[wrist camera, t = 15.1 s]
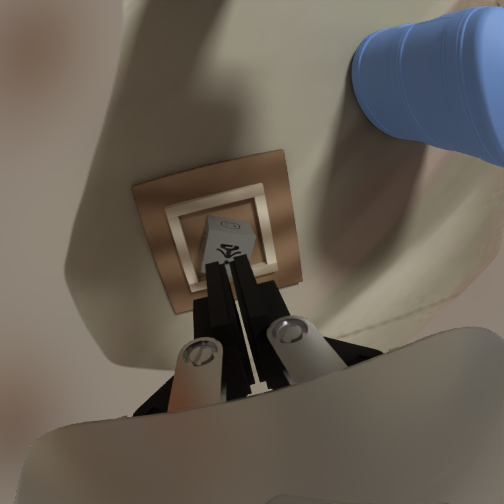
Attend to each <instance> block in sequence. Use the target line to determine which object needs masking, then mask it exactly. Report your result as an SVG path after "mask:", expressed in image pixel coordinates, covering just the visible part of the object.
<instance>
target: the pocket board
mask: <svg viewBox="0 0 504 504" xmlns="http://www.w3.org/2000/svg"><path fill="white" fill-rule="evenodd" d="M131 189H132V192H133V196H134V199H135V202H136V205H137V208H138V212H139V215H140V218H141V221H142V224H143V227H144V230H145V233H146V236H147V239H148V241H149V244H150V247H151V250H152V253H153V256H154V258H155V261H156V264H157V267H158V269H159V272H160V275H161V277H162V280H163V283H164V285H165V288H166V290H167V293H168V295H169V298H170V300H171V303H172V305H173V308H174V310H175V313H180V312H184V311H188V310H193V300H195V299H199V298H203V297H207V296H208V293H207V282H206V273H202V272H201V261H200V250H201V245H202V239H203V234H204V229H205V223H206V218H207V214H208V215H214V216H220V217H226V218H233V219H239V220H245V221H249V223H250V225H251V228H252V230H253V232H254V234H255V236H256V239H255V243H254V247H253V251H252V255H251V259H250V265H251V268H252V271H253V273H254V276H255V279H256V282H257V284H259V283H263V282H267V281H271V280H274V281H275V283H276V285H277V287H278V288H280V287H284V286H287V285H291V284H295V283H298V282H302V281H303V279H302V271H301V263H300V255H299V247H298V240H297V233H296V225H295V218H294V211H293V205H292V198H291V191H290V185H289V179H288V172H287V166H286V160H285V154H284V150H282V149H280V150H274V151H269V152H264V153H259V154H254V155H250V156H245V157H240V158H236V159H231V160H227V161H223V162H218V163H214V164H210V165H206V166H202V167H198V168H194V169H190V170H186V171H183V172H179V173H175V174H171V175H168V176H164V177H161V178H157V179H154V180H150V181H147V182H144V183H140V184H137V185H134V186H132V187H131ZM228 278H229V282H230V286H231V289H232V293H233V297H234V299H237V295H236V291H235V287H234V282H233V278H232V276H228Z"/></svg>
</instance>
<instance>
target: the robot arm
mask: <svg viewBox="0 0 504 504" xmlns="http://www.w3.org/2000/svg"><path fill="white" fill-rule="evenodd" d="M233 259H234V261H231V262H229V266H230V270H231V274H232V278H233V282H234V287H235V291H236V295H237V299H238V303H239V307H240V311H241V315H242V319H243V323H244V327H245V331H246V334H247V338H248V341H249V345H250V349H251V352H252V356H253V359H254V363H255V366H256V370H257V373H258V377H259V380H260V382H264V381H266V383H267V387H268V389H270V388H271V389H273V390H271V391H268V392H264V393H260V394H256V395H252V396H248V397H246V396H247V395H248V394H251V393H252V392H251V388H250V385H252V384H255V381H254V376H253V372H252V368H251V364H250V360H249V356H248V352H247V347H246V343H245V339H244V335H243V331H242V326H241V322H240V318H239V315H238V311H237V308H236V304H235V300H234V297H233V293H232V289H231V286H230V282H229V278H228V274H227V271H226V267H225V263H223V264H219V261H216V262H212V263H208V264H205V271H206V282H207V293H208V296H207V297H203V298H199V299H195V300H193V321H194V340H192V341H190V342H188V343H187V344H186V345H184V347H183V348H182V349H181V350H180V353H179V355H178V359H177V364H176V369H175V374H174V376H172V378H170V379H169V380H168V381H167V382H166V383H165V384H164V385H163V386H162V387H161V388H160V389H159V390H158V391H157V392H155V393H154V395H152V396H151V397H150V398H149V399H148V400H147V401H146V402H145V403H144V404H143V405H141V406H140V407H139V408H138V409H137V410H136V412H135V413H134V414H133V416H132V417H127V416H123V417H120V418H117V419H109V420H100V421H90V422H83V423H76V424H70V425H67V426H63V427H59V428H57V429H54V430H52V431H49V432H47V433H45V434H44V435H42V436H41V437H39V438H38V439H36V440H35V441H34V442H33V444H32V446H31V447H30V448H29V450H28V453H27V455H26V457H25V460H24V463H23V466H22V469H21V473H20V477H19V481H18V486H17V490H16V496H15V501H14V504H504V339H503V338H502V337H501V336H499V335H498V334H496V333H495V332H493V331H491V330H489V329H486V328H481V327H463V328H455V329H450V330H446V331H442V332H439V333H436V334H433V335H430V336H427V337H424V338H422V339H419V340H417V341H414V342H412V343H409V344H407V345H404V346H401V347H397V348H392V349H389V352H387V353H383V352H381V351H379V350H376V349H372V348H368V347H364V346H359V345H355V344H351V343H347V342H343V341H339V340H335V339H331V338H327V337H323V336H322V335H321V334H320V333H319V331H318V330H317V329H316V328H315V327H314V325H313V324H312V323H311V322H310V321H309V320H308V319H307V318H304V317H302V316H296V315H292V316H291V315H290V313H289V311H288V309H287V307H286V305H285V303H284V300H283V298H282V296H281V294H280V292H279V290H278V287H277V285H276V283H275V281H274V280H271V281H267V282H263V283H259V284H257V282H256V279H255V276H254V273H253V271H252V268H251V265H250V263H249V260H248V257H247V254H244V255H240V256H236V257H233Z"/></svg>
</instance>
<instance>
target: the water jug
mask: <svg viewBox="0 0 504 504" xmlns="http://www.w3.org/2000/svg"><path fill="white" fill-rule="evenodd" d="M352 84H353V89H354V93H355V96H356V99H357V101H358V103H359V105H360V107H361V109H362V111H363V112H364V114H365V115H366V117H367V118H368V119H369V120H370V121H371V122H372V124H374V125H375V126H376V127H377V128H378V129H379V130H381V131H382V132H384V133H386V134H388V135H390V136H392V137H395V138H400V139H404V140H414V141H418V142H423V143H427V144H429V145H432V146H434V147H438V148H441V149H445V150H451V151H457V152H461V153H464V154H468V155H471V156H474V157H478V158H481V159H482V160H484V161H487V162H489V163H491V164H494V165H497V166H500V167H504V8H502V7H497V6H492V7H473V8H467V9H464V10H460V11H458V12H454V13H448V14H445V15H442V16H440V17H438V18H435V19H433V20H430V21H426V22H421V23H409V24H403V25H400V26H397V27H393V28H387V29H383V30H380V31H377V32H374V33H372V34H371V35H369V36H368V37H366V38H365V39H364V40H363V41H362V42H361V44H360V45H359V47H358V48H357V50H356V53H355V55H354V58H353V63H352Z"/></svg>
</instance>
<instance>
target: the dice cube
mask: <svg viewBox="0 0 504 504" xmlns="http://www.w3.org/2000/svg"><path fill="white" fill-rule="evenodd" d="M255 239H256V236H255V234H254V232H253V230H252V228H251V225H250V223H249V221H245V220H239V219H233V218H226V217H220V216H214V215H208V214H207V218H206V223H205V229H204V234H203V239H202V245H201V250H200V261H201V272H202V273H206V271H205V264H208V263H212V262H216V261H219V264H223V263H225V267H226V271H227V274H228V276H232V274H231V270H230V266H229V262H231V261H234V259H233V257H236V256H240V255H244V254H247V257H248V260H249V263H250V259H251V255H252V251H253V247H254V243H255Z"/></svg>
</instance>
